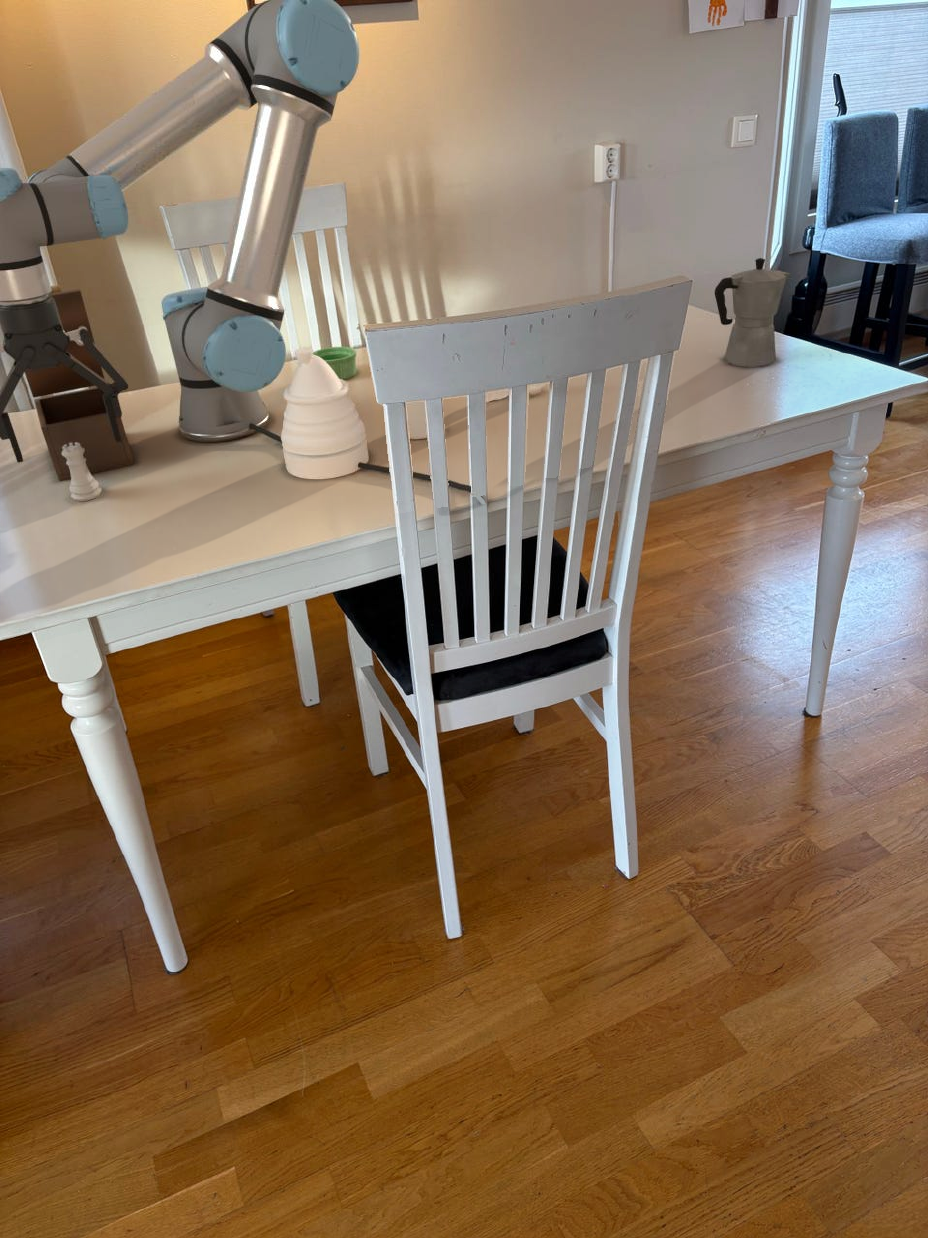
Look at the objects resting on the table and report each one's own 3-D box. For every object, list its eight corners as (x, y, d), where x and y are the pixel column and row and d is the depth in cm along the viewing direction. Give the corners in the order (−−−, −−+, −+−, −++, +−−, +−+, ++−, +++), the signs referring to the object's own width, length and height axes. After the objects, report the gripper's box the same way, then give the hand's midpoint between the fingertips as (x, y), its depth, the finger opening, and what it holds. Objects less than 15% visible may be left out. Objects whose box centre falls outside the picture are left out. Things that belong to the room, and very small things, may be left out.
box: (134, 463, 145) (119, 411, 140) (58, 480, 141) (40, 427, 136) (120, 434, 157) (106, 384, 152) (50, 449, 153) (33, 399, 148)
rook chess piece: (108, 492, 136) (93, 442, 132) (84, 504, 133) (67, 453, 128) (89, 487, 138) (74, 437, 134) (65, 498, 135) (48, 448, 131)
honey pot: (349, 481, 133) (331, 361, 123) (271, 476, 137) (248, 358, 127) (380, 448, 143) (366, 334, 134) (307, 444, 147) (289, 332, 137)
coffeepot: (763, 347, 173) (774, 248, 164) (795, 360, 166) (809, 257, 156) (694, 361, 169) (702, 260, 160) (724, 374, 162) (733, 269, 152)
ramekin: (356, 381, 173) (353, 358, 170) (309, 384, 173) (306, 361, 171) (361, 367, 180) (358, 345, 178) (316, 369, 181) (313, 348, 178)
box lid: (80, 290, 140) (73, 274, 143) (0, 303, 136) (-4, 286, 140) (105, 383, 152) (99, 366, 155) (33, 397, 148) (27, 379, 151)
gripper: (115, 279, 127) (152, 424, 138) (-80, 307, 118) (-24, 459, 130) (123, 289, 121) (160, 438, 133) (-81, 319, 113) (-23, 476, 124)
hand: (69, 449), depth 131 cm, fingers open, 13 cm apart
